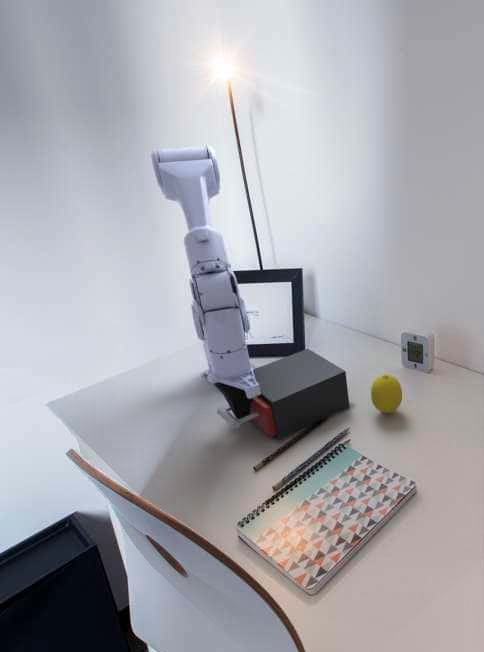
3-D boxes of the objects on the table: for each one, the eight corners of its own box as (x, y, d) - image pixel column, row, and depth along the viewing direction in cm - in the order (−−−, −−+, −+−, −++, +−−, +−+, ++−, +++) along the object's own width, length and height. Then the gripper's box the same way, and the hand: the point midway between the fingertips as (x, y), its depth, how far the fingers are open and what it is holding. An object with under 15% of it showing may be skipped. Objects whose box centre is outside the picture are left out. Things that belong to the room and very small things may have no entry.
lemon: (399, 423, 93) (397, 384, 89) (369, 420, 94) (365, 381, 90) (406, 405, 98) (404, 368, 94) (377, 403, 99) (374, 366, 95)
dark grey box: (279, 440, 90) (272, 402, 86) (245, 410, 98) (237, 375, 94) (349, 406, 98) (345, 371, 95) (312, 381, 106) (307, 348, 103)
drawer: (243, 449, 86) (236, 420, 83) (214, 421, 94) (207, 393, 91) (337, 406, 97) (333, 378, 94) (303, 383, 104) (299, 357, 101)
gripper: (184, 339, 86) (203, 408, 93) (222, 370, 77) (239, 445, 84) (226, 326, 91) (240, 394, 97) (266, 354, 81) (279, 427, 88)
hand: (242, 416), depth 91 cm, fingers closed, pressing on drawer
